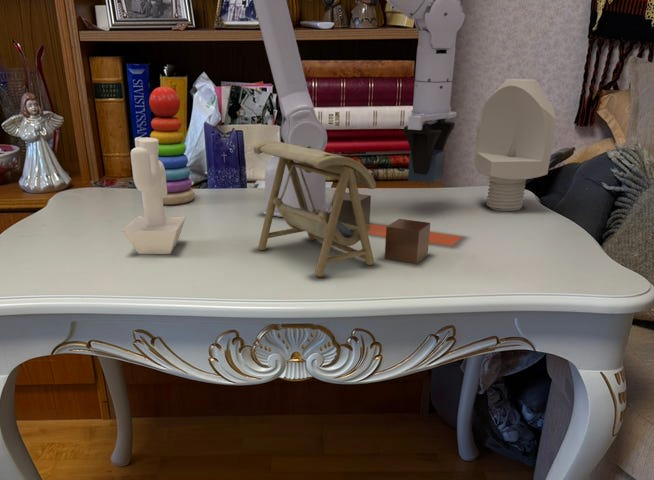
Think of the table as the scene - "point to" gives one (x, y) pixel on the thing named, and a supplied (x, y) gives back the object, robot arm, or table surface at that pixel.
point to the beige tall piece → (514, 140)
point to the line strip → (433, 237)
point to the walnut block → (407, 241)
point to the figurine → (151, 202)
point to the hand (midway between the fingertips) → (425, 170)
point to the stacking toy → (171, 145)
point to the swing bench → (315, 221)
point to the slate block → (434, 169)
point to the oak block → (348, 213)
